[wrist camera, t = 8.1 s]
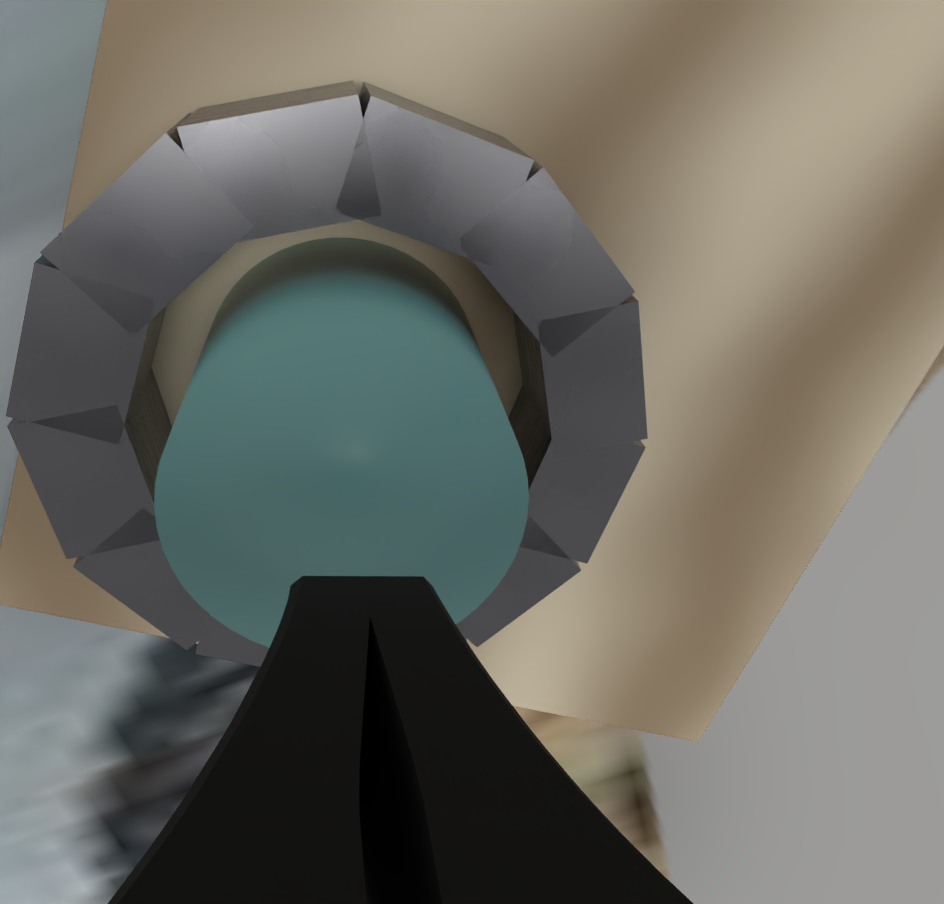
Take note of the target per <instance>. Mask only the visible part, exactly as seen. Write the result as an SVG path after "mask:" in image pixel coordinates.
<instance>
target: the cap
mask: <svg viewBox="0 0 944 904" xmlns="http://www.w3.org/2000/svg"><path fill="white" fill-rule="evenodd" d="M528 503H529V492H528V477H527V472H526V468H525V463H524V458H523V455H522V453H521V450H520V447H519V444H518V442H517V439H516V437H515V434H514V432H513V429H512V427H511V424H510V422H509V419H508V417H507V414H506V412H505V410H504V407H503V405H502V402H501V400H500V397H499V395H498V392H497V390H496V387H495V385H494V382H493V380H492V378H491V375H490V373H489V370H488V368H487V365H486V363H485V360H484V358H483V355H482V353H481V351H480V348H479V346H478V343H477V341H476V338H475V336H474V333H473V331H472V328H471V326H470V323H469V321H468V319H467V316H466V314H465V312H464V310H463V309H462V307H461V305H460V303H459V301H458V300H457V298H456V297H455V296H454V294H453V293H452V291H451V290H450V289H449V287H448V286H447V285H446V284H445V283H444V282H443V281H442V280H441V279H440V278H439V277H438V276H437V275H436V274H435V273H434V272H433V271H431V270H430V269H429V268H428V267H426V266H425V265H424V264H423V263H421V262H420V261H418V260H416V259H415V258H413V257H411V256H410V255H408V254H406V253H404V252H402V251H399V250H397V249H395V248H393V247H390V246H387V245H384V244H380V243H377V242H373V241H369V240H362V239H356V238H325V239H316V240H311V241H307V242H303V243H299V244H295V245H293V246H290V247H288V248H285V249H283V250H280V251H278V252H276V253H274V254H273V255H271V256H269V257H267V258H265V259H264V260H262V261H261V262H259V263H258V264H257V265H255V266H254V267H253V268H251V269H250V270H249V271H248V272H247V273H246V274H245V275H244V276H243V277H242V278H241V279H240V280H239V281H238V282H237V283H236V284H235V285H234V286H233V288H232V289H231V290H230V292H229V293H228V294H227V296H226V297H225V299H224V300H223V302H222V304H221V306H220V308H219V310H218V311H217V313H216V316H215V319H214V321H213V324H212V326H211V329H210V331H209V334H208V337H207V339H206V342H205V344H204V347H203V350H202V352H201V355H200V357H199V360H198V362H197V365H196V368H195V370H194V373H193V375H192V378H191V381H190V383H189V386H188V388H187V391H186V393H185V396H184V399H183V401H182V404H181V406H180V409H179V412H178V414H177V417H176V419H175V422H174V425H173V427H172V430H171V432H170V435H169V437H168V440H167V443H166V445H165V448H164V451H163V454H162V456H161V459H160V462H159V466H158V471H157V476H156V481H155V492H154V511H155V519H156V527H157V531H158V535H159V538H160V542H161V545H162V549H163V551H164V553H165V555H166V558H167V560H168V562H169V564H170V566H171V569H172V570H173V572H174V573H175V575H176V576H177V578H178V579H179V581H180V583H181V584H182V586H183V587H184V588H185V589H186V591H187V592H188V593H189V594H190V595H191V596H192V598H193V599H194V600H195V601H196V602H197V603H198V604H199V605H200V606H201V607H202V608H203V609H204V610H206V611H207V612H208V613H209V614H210V615H211V616H212V617H213V618H215V619H216V620H218V621H219V622H220V623H222V624H223V625H225V626H226V627H228V628H229V629H231V630H232V631H234V632H236V633H238V634H240V635H242V636H243V637H245V638H247V639H249V640H251V641H254V642H256V643H259V644H261V645H264V646H266V647H269V648H270V645H271V643H272V641H273V639H274V636H275V634H276V632H277V629H278V627H279V624H280V622H281V619H282V616H283V613H284V610H285V607H286V604H287V601H288V597H289V591H290V586H291V585H292V584H293V583H294V582H295V581H297V580H298V579H299V578H300V577H302V576H424V578H425V579H426V580H427V581H428V582H429V583H430V584H431V585H432V586H433V587H434V589H435V591H436V593H437V595H438V596H439V598H440V600H441V601H442V603H443V605H444V606H445V608H446V610H447V611H448V613H449V615H450V616H451V618H452V620H453V621H454V623H455V624H457V623H459V622H460V621H462V620H463V619H464V618H465V617H467V616H468V615H469V614H470V613H471V612H473V611H474V610H475V609H476V608H478V607H479V606H480V605H481V603H482V602H483V601H484V600H485V599H486V598H487V597H488V596H489V595H490V594H491V593H492V592H493V591H494V589H495V588H496V587H497V585H498V584H499V583H500V581H501V580H502V579H503V577H504V576H505V574H506V572H507V571H508V569H509V567H510V565H511V564H512V562H513V560H514V558H515V556H516V553H517V551H518V548H519V546H520V543H521V541H522V538H523V534H524V530H525V526H526V521H527V514H528Z"/></svg>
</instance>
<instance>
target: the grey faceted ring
mask: <svg viewBox="0 0 944 904" xmlns="http://www.w3.org/2000/svg"><path fill="white" fill-rule="evenodd" d="M353 220H361V221H364V222H366V223H369V224H372V225H375V226H378V227H381V228H384V229H386V230H389V231H392V232H395V233H398V234H401V235H404V236H406V237H409V238H412V239H415V240H418V241H421V242H424V243H426V244H429V245H432V246H435V247H438V248H441V249H444V250H446V251H449V252H452V253H455V254H458V255H461V256H464V257H466V258H469V259H471V260H472V261H473V262H474V263H475V265H476V266H477V267H478V268H479V270H480V271H481V272H482V273H483V274H484V276H485V277H486V278H487V279H488V280H489V282H490V283H491V284H492V285H493V286H494V288H495V289H496V290H497V291H498V292H499V294H500V295H501V296H502V297H503V298H504V300H505V301H506V302H507V303H508V305H509V306H510V307H511V308H512V309H513V316H514V324H515V331H516V338H517V346H518V353H519V360H520V368H521V375H522V382H523V385H522V387H521V389H520V391H519V394H518V396H517V398H516V401H515V403H514V405H513V408H512V410H511V412H510V415H509V417H508V419H509V422H510V424H511V427H512V429H513V432H514V434H515V437H516V439H517V442H518V444H519V447H520V450H521V453H522V455H523V458H524V463H525V468H526V472H527V477H528V492H529V503H528V514H527V521H526V526H525V530H524V534H523V538H522V541H521V543H520V546H519V548H518V551H517V553H516V556H515V558H514V560H513V562H512V564H511V565H510V567H509V569H508V571H507V572H506V574H505V576H504V577H503V579H502V580H501V581H500V583H499V584H498V585H497V587H496V588H495V589H494V591H493V592H492V593H491V594H490V595H489V596H488V597H487V598H486V599H485V600H484V601H483V602H482V603H481V605H480V606H479V607H478V608H476V609H475V610H474V611H473V612H471V613H470V614H469V615H468V616H467V617H465V618H464V619H463V620H462V621H460V622H459V623H457V624H456V626H457V627H458V629H459V631H460V632H461V634H462V635H463V637H464V638H465V640H466V638H467V639H468V640H469V641H470V642H471V643H472V644H474V645H475V646H476V647H479V646H480V645H481V644H483V643H484V642H485V641H487V640H488V639H490V638H491V637H492V636H494V635H495V634H496V633H498V632H499V631H500V630H502V629H503V628H504V627H506V626H507V625H508V624H510V623H511V622H513V621H514V620H515V619H517V618H518V617H519V616H521V615H522V614H523V613H525V612H526V611H527V610H529V609H530V608H531V607H533V606H534V605H536V604H537V603H538V602H540V601H541V600H542V599H544V598H545V597H546V596H548V595H549V594H550V593H552V592H553V591H554V590H556V589H557V588H559V587H560V586H561V585H563V584H564V583H565V582H567V581H568V580H569V579H571V578H572V577H573V576H575V575H576V574H577V573H579V572H580V571H581V568H580V566H579V564H578V562H582V563H586V564H587V563H588V561H589V559H590V557H591V555H592V553H593V551H594V549H595V547H596V545H597V543H598V542H599V540H600V538H601V536H602V534H603V532H604V530H605V528H606V526H607V524H608V522H609V520H610V518H611V516H612V514H613V512H614V510H615V508H616V506H617V504H618V502H619V500H620V498H621V496H622V494H623V492H624V490H625V488H626V486H627V484H628V482H629V480H630V478H631V476H632V474H633V472H634V470H635V468H636V466H637V464H638V462H639V460H640V458H641V456H642V454H643V452H644V450H645V448H646V447H645V446H644V444H643V443H642V442H641V440H643V439H648V435H647V420H646V405H645V390H644V375H643V360H642V345H641V330H640V315H639V301H638V300H637V299H636V298H635V297H634V296H633V295H632V294H633V293H634V292H635V291H634V289H633V288H632V287H631V285H630V284H629V283H628V281H627V280H626V279H625V277H624V276H623V275H622V273H621V272H620V270H619V269H618V268H617V266H616V265H615V264H614V262H613V261H612V260H611V258H610V257H609V256H608V254H607V253H606V251H605V250H604V249H603V247H602V246H601V245H600V243H599V242H598V241H597V239H596V238H595V237H594V235H593V234H592V232H591V231H590V230H589V228H588V227H587V226H586V224H585V223H584V222H583V220H582V219H581V218H580V216H579V215H578V214H577V212H576V211H575V209H574V208H573V207H572V205H571V204H570V203H569V201H568V200H567V199H566V197H565V196H564V195H563V193H562V192H561V190H560V189H559V188H558V186H557V185H556V184H555V182H554V181H553V180H552V178H551V177H550V176H549V174H548V173H547V171H546V170H545V169H544V167H543V166H541V165H540V164H539V163H537V162H536V161H535V160H533V159H532V158H531V157H529V156H528V155H527V154H525V153H524V152H523V151H522V150H520V149H519V148H518V147H516V146H515V145H514V144H512V143H511V142H510V141H508V140H507V139H506V138H504V137H502V136H500V135H497V134H495V133H492V132H490V131H487V130H485V129H482V128H480V127H477V126H475V125H472V124H470V123H467V122H465V121H462V120H460V119H457V118H455V117H452V116H450V115H447V114H445V113H442V112H440V111H437V110H434V109H432V108H429V107H427V106H424V105H422V104H419V103H417V102H414V101H412V100H409V99H407V98H404V97H402V96H399V95H397V94H394V93H392V92H389V91H387V90H384V89H382V88H379V87H377V86H374V85H372V84H369V83H367V82H364V81H363V85H362V88H361V91H360V94H359V96H358V93H357V90H356V87H355V85H354V82H353V80H351V81H345V82H340V83H334V84H329V85H323V86H318V87H312V88H306V89H301V90H295V91H290V92H284V93H278V94H273V95H267V96H262V97H256V98H250V99H245V100H239V101H234V102H228V103H222V104H217V105H211V106H206V107H200V108H198V109H197V110H196V111H195V112H194V113H193V114H191V113H189V114H187V115H186V116H185V117H184V118H183V119H181V120H180V121H179V122H178V123H177V124H176V125H174V126H173V127H172V128H171V129H170V130H168V131H167V132H166V133H165V134H164V135H163V136H162V137H161V138H160V139H159V140H158V141H157V142H155V143H154V144H153V145H152V146H151V147H150V148H149V149H148V150H147V151H146V152H145V153H144V154H143V155H142V156H141V157H140V158H139V159H138V160H137V161H136V162H134V163H133V164H132V165H131V166H130V167H129V168H128V169H127V170H126V171H125V172H124V173H123V174H122V175H121V176H120V177H119V178H118V179H117V180H116V181H115V182H113V183H112V184H111V185H110V186H109V187H108V188H107V189H106V190H105V191H104V192H103V193H102V194H101V195H100V196H99V197H98V198H97V199H96V200H95V201H94V202H92V203H91V204H90V205H89V206H88V207H87V208H86V209H85V210H84V211H83V212H82V213H81V214H80V215H79V216H78V217H77V218H76V219H75V220H74V221H73V222H71V223H70V224H69V225H68V226H67V227H66V228H65V229H64V230H63V231H62V232H61V233H60V234H59V235H58V236H57V237H56V238H55V239H54V240H53V241H52V242H50V243H49V244H48V245H47V246H46V247H45V248H44V249H43V250H42V251H41V252H40V253H41V254H42V256H41V257H40V258H39V259H38V260H37V261H36V262H35V263H34V269H33V274H32V279H31V285H30V290H29V295H28V301H27V306H26V311H25V317H24V322H23V328H22V333H21V338H20V344H19V349H18V354H17V360H16V365H15V370H14V376H13V381H12V386H11V392H10V397H9V403H8V408H7V413H6V416H8V417H12V418H13V419H12V421H11V422H10V423H9V425H8V426H7V427H8V429H9V431H10V433H11V436H12V438H13V440H14V442H15V445H16V447H17V449H18V451H19V454H20V456H21V458H22V460H23V463H24V465H25V467H26V469H27V472H28V474H29V476H30V478H31V481H32V483H33V485H34V487H35V489H36V492H37V494H38V496H39V498H40V501H41V503H42V505H43V507H44V510H45V512H46V514H47V516H48V519H49V521H50V523H51V525H52V528H53V530H54V532H55V534H56V537H57V539H58V541H59V543H60V546H61V548H62V550H63V552H64V554H65V557H66V559H71V558H76V557H77V559H76V562H75V564H74V566H73V567H74V568H75V569H76V570H78V571H79V572H80V573H82V574H83V575H85V576H86V577H87V578H89V579H90V580H91V581H93V582H94V583H95V584H97V585H98V586H100V587H101V588H102V589H104V590H105V591H106V592H108V593H109V594H110V595H112V596H113V597H115V598H116V599H117V600H119V601H120V602H121V603H123V604H124V605H125V606H127V607H128V608H130V609H131V610H132V611H134V612H135V613H136V614H138V615H139V616H140V617H142V618H143V619H145V620H146V621H147V622H149V623H150V624H151V625H153V626H154V627H155V628H157V629H158V630H160V631H161V632H162V633H164V634H165V635H166V636H168V637H169V638H170V639H172V640H173V641H175V642H176V643H177V644H179V645H180V646H181V647H183V648H184V649H185V650H188V649H189V648H190V647H191V646H193V645H194V644H195V643H196V642H198V644H197V649H196V654H197V655H203V656H208V657H213V658H218V659H223V660H228V661H234V662H239V663H244V664H249V665H254V666H259V667H261V665H262V663H263V661H264V659H265V656H266V654H267V652H268V650H269V647H266V646H264V645H261V644H259V643H256V642H254V641H251V640H249V639H247V638H245V637H243V636H242V635H240V634H238V633H236V632H234V631H232V630H231V629H229V628H228V627H226V626H225V625H223V624H222V623H220V622H219V621H218V620H216V619H215V618H213V617H212V616H211V615H210V614H209V613H208V612H207V611H206V610H204V609H203V608H202V607H201V606H200V605H199V604H198V603H197V602H196V601H195V600H194V599H193V598H192V596H191V595H190V594H189V593H188V592H187V591H186V589H185V588H184V587H183V586H182V584H181V583H180V581H179V579H178V578H177V576H176V575H175V573H174V572H173V570H172V569H171V566H170V564H169V562H168V560H167V558H166V555H165V553H164V551H163V549H162V545H161V542H160V538H159V535H158V531H157V527H156V519H155V511H154V492H155V481H156V476H157V471H158V466H159V462H160V459H161V456H162V454H163V451H164V448H165V445H166V443H167V440H168V437H169V435H170V432H171V430H172V425H171V422H170V419H169V416H168V413H167V410H166V407H165V405H164V402H163V399H162V396H161V393H160V390H159V387H158V384H157V382H156V379H155V376H154V373H153V370H152V363H153V359H154V355H155V351H156V347H157V343H158V339H159V335H160V331H161V327H162V323H163V319H164V315H165V311H166V307H167V305H168V304H169V303H170V302H171V301H172V300H174V299H175V298H176V297H177V296H178V295H179V294H180V293H181V292H182V291H184V290H185V289H186V288H187V287H188V286H189V285H190V284H191V283H192V282H193V281H195V280H196V279H197V278H198V277H199V276H200V275H201V274H202V273H203V272H205V271H206V270H207V269H208V268H209V267H210V266H211V265H212V264H213V263H215V262H216V261H217V260H218V259H219V258H220V257H221V256H222V255H223V254H224V253H226V252H227V251H228V250H229V249H230V248H231V247H232V246H233V245H234V244H236V243H237V242H242V241H247V240H253V239H258V238H263V237H268V236H274V235H279V234H284V233H290V232H295V231H300V230H306V229H311V228H316V227H321V226H327V225H332V224H337V223H343V222H348V221H353ZM577 561H578V562H577ZM466 641H467V640H466Z"/></svg>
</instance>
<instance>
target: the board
mask: <svg viewBox="0 0 944 904" xmlns="http://www.w3.org/2000/svg"><path fill="white" fill-rule="evenodd" d="M351 80H353V82H354V85H355V87H356V90H357V93H358V96H359V94H360V91H361V88H362V85H363V81H364V82H367V83H369V84H372V85H374V86H377V87H379V88H382V89H384V90H387V91H389V92H392V93H394V94H397V95H399V96H402V97H404V98H407V99H409V100H412V101H414V102H417V103H419V104H422V105H424V106H427V107H429V108H432V109H434V110H437V111H440V112H442V113H445V114H447V115H450V116H452V117H455V118H457V119H460V120H462V121H465V122H467V123H470V124H472V125H475V126H477V127H480V128H482V129H485V130H487V131H490V132H492V133H495V134H497V135H500V136H502V137H504V138H506V139H507V140H508V141H510V142H511V143H512V144H514V145H515V146H516V147H518V148H519V149H520V150H522V151H523V152H524V153H525V154H527V155H528V156H529V157H531V158H532V159H533V160H535V161H536V162H537V163H539V164H540V165H541V166H543V167H544V169H545V170H546V171H547V173H548V174H549V176H550V177H551V178H552V180H553V181H554V182H555V184H556V185H557V186H558V188H559V189H560V190H561V192H562V193H563V195H564V196H565V197H566V199H567V200H568V201H569V203H570V204H571V205H572V207H573V208H574V209H575V211H576V212H577V214H578V215H579V216H580V218H581V219H582V220H583V222H584V223H585V224H586V226H587V227H588V228H589V230H590V231H591V232H592V234H593V235H594V237H595V238H596V239H597V241H598V242H599V243H600V245H601V246H602V247H603V249H604V250H605V251H606V253H607V254H608V256H609V257H610V258H611V260H612V261H613V262H614V264H615V265H616V266H617V268H618V269H619V270H620V272H621V273H622V275H623V276H624V277H625V279H626V280H627V281H628V283H629V284H630V285H631V287H632V288H633V289H634V291H635V292H634V293H633V294H632V295H633V296H634V297H635V298H636V299H637V300H638V301H639V315H640V330H641V345H642V360H643V375H644V390H645V405H646V420H647V435H648V439H643V440H641V442H642V443H643V444H644V446H645V447H646V448H645V450H644V452H643V454H642V456H641V458H640V460H639V462H638V464H637V466H636V468H635V470H634V472H633V474H632V476H631V478H630V480H629V482H628V484H627V486H626V488H625V490H624V492H623V494H622V496H621V498H620V500H619V502H618V504H617V506H616V508H615V510H614V512H613V514H612V516H611V518H610V520H609V522H608V524H607V526H606V528H605V530H604V532H603V534H602V536H601V538H600V540H599V542H598V543H597V545H596V547H595V549H594V551H593V553H592V555H591V557H590V559H589V561H588V563H587V564H586V563H582V562H578V561H577V562H578V564H579V566H580V568H581V571H580V572H579V573H577V574H576V575H575V576H573V577H572V578H571V579H569V580H568V581H567V582H565V583H564V584H563V585H561V586H560V587H559V588H557V589H556V590H554V591H553V592H552V593H550V594H549V595H548V596H546V597H545V598H544V599H542V600H541V601H540V602H538V603H537V604H536V605H534V606H533V607H531V608H530V609H529V610H527V611H526V612H525V613H523V614H522V615H521V616H519V617H518V618H517V619H515V620H514V621H513V622H511V623H510V624H508V625H507V626H506V627H504V628H503V629H502V630H500V631H499V632H498V633H496V634H495V635H494V636H492V637H491V638H490V639H488V640H487V641H485V642H484V643H483V644H481V645H480V646H479V647H476V646H475V645H474V644H472V643H471V642H470V641H469V640H468V639H467V638H466V640H467V643H468V644H469V646H470V647H471V649H472V650H473V652H474V653H475V655H476V656H477V658H478V659H479V661H480V662H481V664H482V665H483V666H484V668H485V669H486V671H487V672H488V673H489V675H490V676H491V678H492V679H493V681H494V682H495V683H496V684H497V686H498V687H499V688H500V690H501V691H502V692H503V694H504V695H505V696H506V698H507V699H508V700H509V702H510V703H511V704H512V706H517V707H522V708H527V709H532V710H537V711H542V712H547V713H552V714H558V715H563V716H568V717H573V718H578V719H583V720H588V721H593V722H598V723H603V724H608V725H613V726H618V727H624V728H629V729H634V730H639V731H644V732H649V733H654V734H659V735H664V736H670V737H674V738H679V739H685V740H690V741H695V742H699V740H700V739H701V737H702V736H703V734H704V732H705V731H706V729H707V728H708V726H709V724H710V723H711V721H712V719H713V718H714V716H715V714H716V713H717V711H718V710H719V708H720V707H721V705H722V703H723V702H724V700H725V698H726V697H727V695H728V694H729V692H730V690H731V688H732V687H733V685H734V684H735V682H736V681H737V679H738V677H739V676H740V674H741V673H742V671H743V669H744V668H745V666H746V664H747V663H748V661H749V660H750V658H751V656H752V655H753V653H754V651H755V650H756V648H757V647H758V645H759V643H760V642H761V640H762V639H763V637H764V635H765V634H766V632H767V630H768V629H769V627H770V626H771V624H772V622H773V621H774V619H775V617H776V616H777V614H778V613H779V611H780V609H781V608H782V606H783V605H784V603H785V601H786V600H787V598H788V596H789V595H790V593H791V591H792V590H793V588H794V587H795V585H796V584H797V582H798V580H799V579H800V577H801V575H802V574H803V572H804V571H805V569H806V567H807V566H808V564H809V563H810V561H811V559H812V557H813V556H814V554H815V553H816V551H817V550H818V548H819V546H820V545H821V543H822V542H823V540H824V538H825V537H826V535H827V533H828V532H829V530H830V528H831V527H832V525H833V524H834V522H835V521H836V519H837V517H838V516H839V514H840V512H841V511H842V509H843V508H844V506H845V504H846V503H847V501H848V499H849V498H850V496H851V495H852V493H853V491H854V490H855V488H856V487H857V485H858V483H859V482H860V480H861V478H862V477H863V475H864V473H865V472H866V470H867V469H868V467H869V466H870V464H871V462H872V461H873V459H874V457H875V456H876V454H877V453H878V451H879V449H880V448H881V446H882V444H883V443H884V441H885V440H886V438H887V436H888V435H889V433H890V432H891V430H892V428H893V427H894V425H895V423H896V422H897V420H898V419H899V417H900V415H901V414H902V412H903V411H904V409H905V407H906V406H907V404H908V402H909V401H910V399H911V398H912V396H913V394H914V393H915V391H916V389H917V388H918V386H919V385H920V383H921V381H922V380H923V378H924V377H925V375H926V373H927V372H928V370H929V368H930V367H931V365H932V364H933V362H934V360H935V359H936V357H937V356H938V354H939V352H940V351H941V349H942V347H943V346H944V0H107V5H106V10H105V15H104V20H103V25H102V30H101V35H100V40H99V45H98V50H97V56H96V61H95V66H94V71H93V76H92V81H91V86H90V91H89V96H88V101H87V107H86V112H85V117H84V122H83V127H82V132H81V137H80V142H79V147H78V152H77V158H76V163H75V168H74V173H73V178H72V183H71V188H70V193H69V198H68V203H67V209H66V214H65V219H64V224H63V229H62V231H63V230H64V229H65V228H66V227H67V226H68V225H69V224H70V223H71V222H73V221H74V220H75V219H76V218H77V217H78V216H79V215H80V214H81V213H82V212H83V211H84V210H85V209H86V208H87V207H88V206H89V205H90V204H91V203H92V202H94V201H95V200H96V199H97V198H98V197H99V196H100V195H101V194H102V193H103V192H104V191H105V190H106V189H107V188H108V187H109V186H110V185H111V184H112V183H113V182H115V181H116V180H117V179H118V178H119V177H120V176H121V175H122V174H123V173H124V172H125V171H126V170H127V169H128V168H129V167H130V166H131V165H132V164H133V163H134V162H136V161H137V160H138V159H139V158H140V157H141V156H142V155H143V154H144V153H145V152H146V151H147V150H148V149H149V148H150V147H151V146H152V145H153V144H154V143H155V142H157V141H158V140H159V139H160V138H161V137H162V136H163V135H164V134H165V133H166V132H167V131H168V130H170V129H171V128H172V127H173V126H174V125H176V124H177V123H178V122H179V121H180V120H181V119H183V118H184V117H185V116H186V115H187V114H189V113H191V114H193V113H194V112H195V111H196V110H197V109H198V108H200V107H206V106H211V105H217V104H222V103H228V102H234V101H239V100H245V99H250V98H256V97H262V96H267V95H273V94H278V93H284V92H290V91H295V90H301V89H306V88H312V87H318V86H323V85H329V84H334V83H340V82H345V81H351ZM325 238H356V239H362V240H369V241H373V242H377V243H380V244H384V245H387V246H390V247H393V248H395V249H397V250H399V251H402V252H404V253H406V254H408V255H410V256H411V257H413V258H415V259H416V260H418V261H420V262H421V263H423V264H424V265H425V266H426V267H428V268H429V269H430V270H431V271H433V272H434V273H435V274H436V275H437V276H438V277H439V278H440V279H441V280H442V281H443V282H444V283H445V284H446V285H447V286H448V287H449V289H450V290H451V291H452V293H453V294H454V296H455V297H456V298H457V300H458V301H459V303H460V305H461V307H462V309H463V310H464V312H465V314H466V316H467V319H468V321H469V323H470V326H471V328H472V331H473V333H474V336H475V338H476V341H477V343H478V346H479V348H480V351H481V353H482V355H483V358H484V360H485V363H486V365H487V368H488V370H489V373H490V375H491V378H492V380H493V382H494V385H495V387H496V390H497V392H498V395H499V397H500V400H501V402H502V405H503V407H504V410H505V412H506V414H507V417H509V415H510V412H511V410H512V408H513V405H514V403H515V401H516V398H517V396H518V394H519V391H520V389H521V387H522V385H523V382H522V375H521V368H520V360H519V353H518V346H517V338H516V331H515V324H514V316H513V309H512V308H511V307H510V306H509V305H508V303H507V302H506V301H505V300H504V298H503V297H502V296H501V295H500V294H499V292H498V291H497V290H496V289H495V288H494V286H493V285H492V284H491V283H490V282H489V280H488V279H487V278H486V277H485V276H484V274H483V273H482V272H481V271H480V270H479V268H478V267H477V266H476V265H475V263H474V262H473V261H472V260H471V259H469V258H466V257H464V256H461V255H458V254H455V253H452V252H449V251H446V250H444V249H441V248H438V247H435V246H432V245H429V244H426V243H424V242H421V241H418V240H415V239H412V238H409V237H406V236H404V235H401V234H398V233H395V232H392V231H389V230H386V229H384V228H381V227H378V226H375V225H372V224H369V223H366V222H364V221H361V220H353V221H348V222H343V223H337V224H332V225H327V226H321V227H316V228H311V229H306V230H300V231H295V232H290V233H284V234H279V235H274V236H268V237H263V238H258V239H253V240H247V241H242V242H237V243H236V244H234V245H233V246H232V247H231V248H230V249H229V250H228V251H227V252H226V253H224V254H223V255H222V256H221V257H220V258H219V259H218V260H217V261H216V262H215V263H213V264H212V265H211V266H210V267H209V268H208V269H207V270H206V271H205V272H203V273H202V274H201V275H200V276H199V277H198V278H197V279H196V280H195V281H193V282H192V283H191V284H190V285H189V286H188V287H187V288H186V289H185V290H184V291H182V292H181V293H180V294H179V295H178V296H177V297H176V298H175V299H174V300H172V301H171V302H170V303H169V304H168V305H167V307H166V311H165V315H164V319H163V323H162V327H161V331H160V335H159V339H158V343H157V347H156V351H155V355H154V359H153V363H152V370H153V373H154V376H155V379H156V382H157V384H158V387H159V390H160V393H161V396H162V399H163V402H164V405H165V407H166V410H167V413H168V416H169V419H170V422H171V425H172V427H173V425H174V422H175V419H176V417H177V414H178V412H179V409H180V406H181V404H182V401H183V399H184V396H185V393H186V391H187V388H188V386H189V383H190V381H191V378H192V375H193V373H194V370H195V368H196V365H197V362H198V360H199V357H200V355H201V352H202V350H203V347H204V344H205V342H206V339H207V337H208V334H209V331H210V329H211V326H212V324H213V321H214V319H215V316H216V313H217V311H218V310H219V308H220V306H221V304H222V302H223V300H224V299H225V297H226V296H227V294H228V293H229V292H230V290H231V289H232V288H233V286H234V285H235V284H236V283H237V282H238V281H239V280H240V279H241V278H242V277H243V276H244V275H245V274H246V273H247V272H248V271H249V270H250V269H251V268H253V267H254V266H255V265H257V264H258V263H259V262H261V261H262V260H264V259H265V258H267V257H269V256H271V255H273V254H274V253H276V252H278V251H280V250H283V249H285V248H288V247H290V246H293V245H295V244H299V243H303V242H307V241H311V240H316V239H325ZM76 559H77V557H76V558H71V559H66V557H65V554H64V552H63V550H62V548H61V546H60V543H59V541H58V539H57V537H56V534H55V532H54V530H53V528H52V525H51V523H50V521H49V519H48V516H47V514H46V512H45V510H44V507H43V505H42V503H41V501H40V498H39V496H38V494H37V492H36V489H35V487H34V485H33V483H32V481H31V478H30V476H29V474H28V472H27V469H26V467H25V465H24V463H23V460H22V458H21V456H20V454H19V453H18V458H17V463H16V469H15V474H14V479H13V484H12V489H11V494H10V499H9V504H8V509H7V514H6V520H5V525H4V530H3V535H2V540H1V545H0V605H4V606H9V607H15V608H20V609H25V610H30V611H35V612H40V613H45V614H50V615H55V616H60V617H65V618H70V619H75V620H80V621H86V622H91V623H96V624H101V625H106V626H111V627H116V628H121V629H126V630H131V631H136V632H141V633H146V634H152V635H157V636H162V637H167V638H169V637H168V636H166V635H165V634H164V633H162V632H161V631H160V630H158V629H157V628H155V627H154V626H153V625H151V624H150V623H149V622H147V621H146V620H145V619H143V618H142V617H140V616H139V615H138V614H136V613H135V612H134V611H132V610H131V609H130V608H128V607H127V606H125V605H124V604H123V603H121V602H120V601H119V600H117V599H116V598H115V597H113V596H112V595H110V594H109V593H108V592H106V591H105V590H104V589H102V588H101V587H100V586H98V585H97V584H95V583H94V582H93V581H91V580H90V579H89V578H87V577H86V576H85V575H83V574H82V573H80V572H79V571H78V570H76V569H75V568H74V567H73V566H74V564H75V562H76ZM196 643H197V644H198V642H196Z"/></svg>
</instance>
